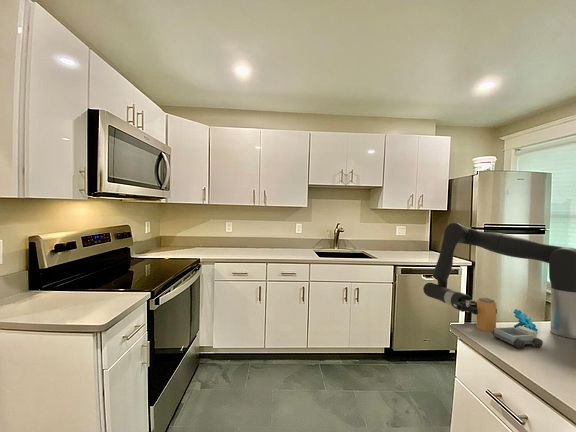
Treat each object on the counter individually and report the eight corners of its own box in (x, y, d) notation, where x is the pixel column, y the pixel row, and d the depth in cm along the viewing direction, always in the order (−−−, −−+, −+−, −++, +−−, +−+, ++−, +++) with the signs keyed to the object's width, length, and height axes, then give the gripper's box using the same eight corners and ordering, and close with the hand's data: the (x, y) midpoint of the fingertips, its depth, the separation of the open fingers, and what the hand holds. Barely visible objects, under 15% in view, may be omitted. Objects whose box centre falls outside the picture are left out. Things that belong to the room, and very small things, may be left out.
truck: (517, 335, 111) (517, 324, 111) (543, 347, 101) (543, 334, 101) (491, 337, 109) (491, 325, 109) (515, 349, 99) (515, 336, 99)
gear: (533, 332, 110) (512, 308, 116) (518, 340, 113) (499, 316, 120) (544, 331, 115) (524, 307, 122) (530, 338, 119) (511, 315, 125)
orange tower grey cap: (476, 327, 119) (477, 297, 119) (486, 326, 119) (486, 297, 119) (485, 331, 114) (486, 301, 114) (495, 331, 115) (496, 300, 115)
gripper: (443, 292, 132) (470, 302, 116) (471, 291, 134) (502, 301, 118) (443, 308, 132) (470, 321, 116) (471, 307, 134) (502, 320, 118)
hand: (486, 311), depth 117 cm, fingers open, 8 cm apart
